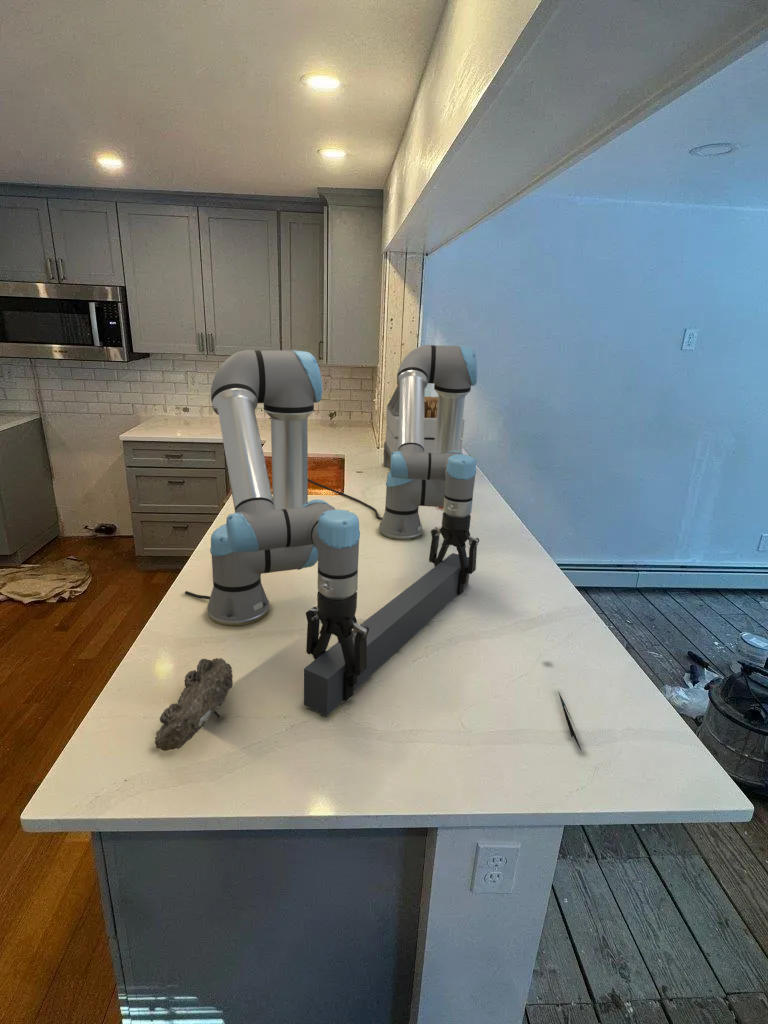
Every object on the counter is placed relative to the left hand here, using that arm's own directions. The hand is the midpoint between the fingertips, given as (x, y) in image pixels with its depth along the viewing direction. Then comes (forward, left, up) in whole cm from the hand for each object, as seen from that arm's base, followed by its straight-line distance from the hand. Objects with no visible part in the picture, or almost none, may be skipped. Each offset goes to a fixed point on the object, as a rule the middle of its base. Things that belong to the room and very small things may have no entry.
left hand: (335, 691), depth 116 cm
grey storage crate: (-110, +130, -1) cm, 171 cm away
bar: (-8, +26, 0) cm, 27 cm away
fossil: (-10, -24, -1) cm, 26 cm away
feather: (+31, +35, -1) cm, 47 cm away
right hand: (-17, +52, 0) cm, 55 cm away
